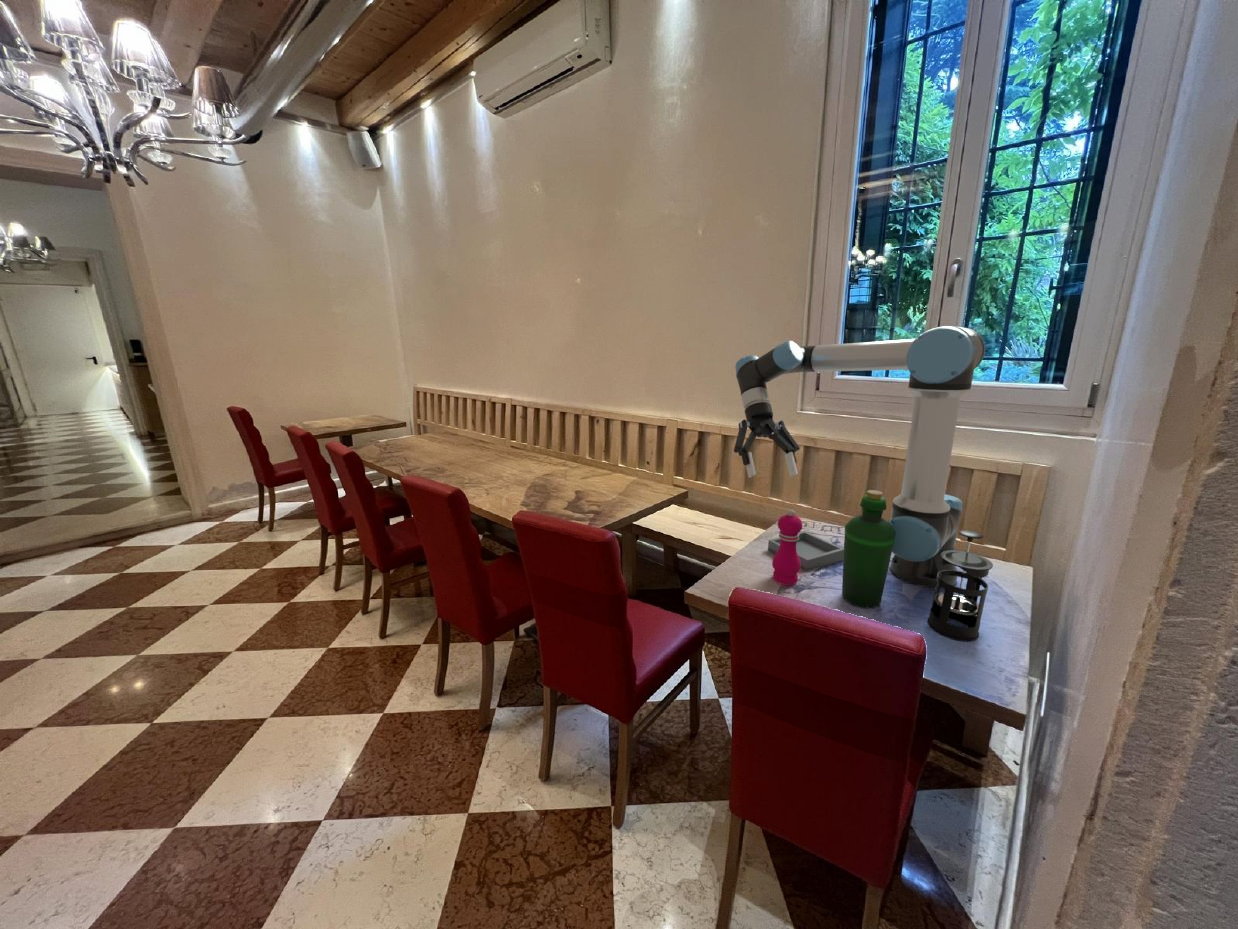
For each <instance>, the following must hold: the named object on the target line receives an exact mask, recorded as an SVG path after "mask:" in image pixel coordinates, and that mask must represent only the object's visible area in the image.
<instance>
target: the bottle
mask: <svg viewBox="0 0 1238 929" xmlns="http://www.w3.org/2000/svg"><path fill="white" fill-rule="evenodd" d="M883 495H884V493H883V492H882V491H881V490H875V489H868V490H866V494H864V495H862V498H861V499H860V500H861V501H860V503H859V506H860V507H861V514H859V515H857V516H853V517H852V518H851V519H850V520H849V521H848V522H847V523H846V524H845V526H844V542H843V543H844V545H843V548H844V560H843V561H842V582H841V583H842V585H841V588H842V589H841V595H842V598H843V599H844V600H845V601H846V602H848V603H849V604H852V605H853V606H856V605H857V606H856V607H860V608H867V607H868V608H871V609H872V608H876V607H879V606H880V604H881V602H882V598H883V595H884V590H885V585H886V581H887V576H888V571H889V566H890V564H891V559H892V558H891V556H892V554H893V552H892V549H893V544H894V539H895V535H896V532H895V530H894V528H893V526H892V525H891V524H890V523H889V522H888V520H886V519H885V518H884V517H883V514H884V511H886V510H887V499H886V498H885V497H884V496H883ZM868 608H867V609H868Z"/></svg>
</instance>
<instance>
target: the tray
mask: <svg viewBox="0 0 1238 929" xmlns="http://www.w3.org/2000/svg"><path fill="white" fill-rule="evenodd" d="M780 542H781V541H780V538H779V537H776V538H772V539H768V546H767V551H768V552H770V553H771V554H773V555H775V554H776V553H777V551H778V549H779V547H780ZM796 550H797V554H798V556H799V559H800V562H801V569H800V570H803V571H805V572H810V571H812V570H817V569H820V568H823V567H826V565H827V566H829V565H834V564H837V563H839V562H838V561H840V562H843V560H844V547H841V546H840V545H837V544H835V543H833V542H830V541H828V540H825V539H823V538H821V537H819V536H817V535H814V534H813V533H810V532H809V531H806V530H803V531H802V530H801V531H800V532H799V540H798V541H797V543H796ZM836 562H837V563H836Z"/></svg>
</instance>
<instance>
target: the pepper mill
mask: <svg viewBox="0 0 1238 929" xmlns="http://www.w3.org/2000/svg"><path fill="white" fill-rule="evenodd" d="M777 527H778V529H779V532H778V534H779V535H778V538H780V541H781V542H780V547H779V549H778V551H777V553H776V554H774V556H773V558H772V561H771V562H772V563H771V565H772V568H773V573H772V574H773V575H772V579H773V580H774V581H775V582H776V583H777V584H780V585H784V586H793V585H796V584H797V583H798V581H799V574H798V573H800V571H801V570H802V569H801V562H800V559H799V556H798V554H797V550H796V543H797V541H798V540H799V532H802V529H803V522H802V520H801V518H800V517H799V516H797V515H795V510H793V509H788V510H787V514H784V515H782V516H780V518H778V521H777Z"/></svg>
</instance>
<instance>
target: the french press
mask: <svg viewBox="0 0 1238 929" xmlns="http://www.w3.org/2000/svg"><path fill="white" fill-rule="evenodd" d="M958 534H959V535H961V536H963V537H965V538H966V537H967V539H966V541H967V542H968V543H967V547H966V548H967V549H966V551H965V550H959V549H958V550H956V549H954V550H947V551H943V552H942V553H941V558H942V565H946V564H952V565H954V566H956V568H957V567H958V568H960V569H961V570H962V571H961V570H957V571H955V570H943V571H939V572H938V573H937V577H936V587H935V588H934V594H933V599H932V604H931V607H930V612H929V615H928V616H929V617H928V618H927V622H926V623H927V625H928V626H929V628H930V629H931V630H932V631H933V632H935V633H936V634H939V635H940V636H943V637H945V638H947V639H951V640H953V641H956V642H957V641H958V642H974V641H977V640H978V639H979V638H980V631H979V630H980V627H981V620H982V616H983V611H984V607H985V601H986V597H987V593H988V591H989V590H988V589H989V584H988V583H987V582H986V581H985V580H984V579H983V578H986V577H987V576H989V572H990V570H992V568H993V566H994V564H993V562H992V561H991V560H990V559H987V558H986V557H983V555H982V556H981V555H979V554H976V553H973V552H970V548H971V543H973V542H974V541H973V540H974V539H975V540H976V539H978V540H979V539H983V538H985V537H984V535H983V534H982V533H980V532H978V531H974V530H969V529H968V530H967V529H960V530H959V531H958ZM942 576H957V578H961V580H960V583H959V586H955V585H954V586H952V585H950V584H948V583H946V582H944V581H942ZM964 579H966V580H967V581H966V584H965V585H966V586H965V588H962V586H963V581H964ZM981 586H982V587H983V589H981ZM940 587H943V588H942V589H944V590H943V591H944V592H941V593H940V591H941V588H940ZM978 598H979V602H978ZM949 620H951V621H955V622H959V623H960V624H963V625H964V626H962V625H956V624H954V623H951V622H949Z"/></svg>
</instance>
